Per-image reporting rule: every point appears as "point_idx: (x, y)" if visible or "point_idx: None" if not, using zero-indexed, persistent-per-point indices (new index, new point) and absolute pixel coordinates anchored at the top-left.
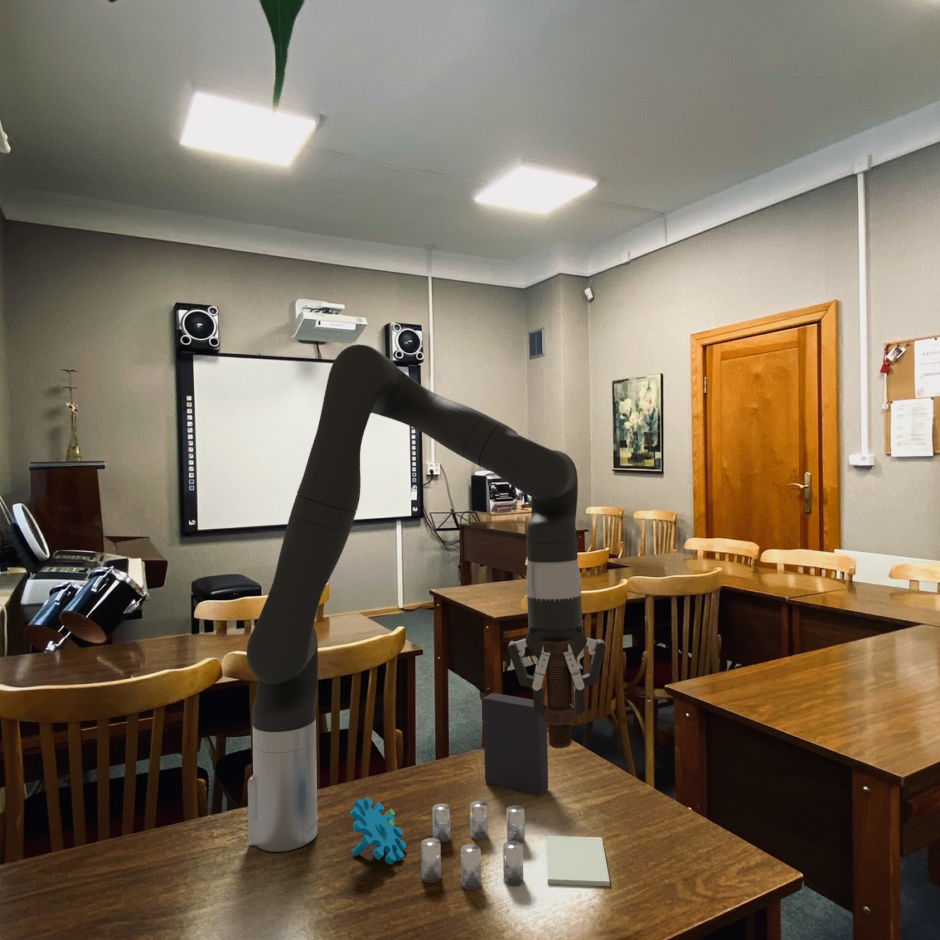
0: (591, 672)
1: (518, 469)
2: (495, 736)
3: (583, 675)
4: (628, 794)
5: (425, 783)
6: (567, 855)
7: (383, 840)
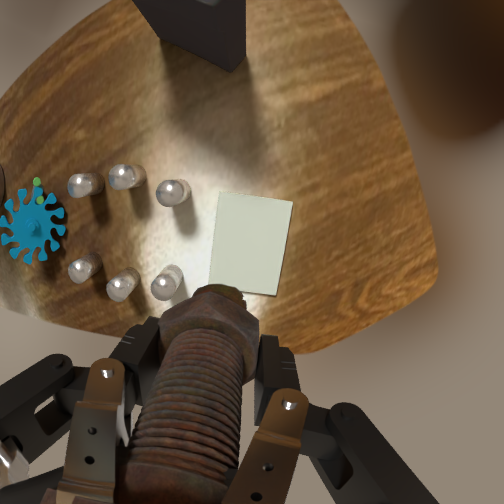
0: (325, 479)
1: None
2: (152, 11)
3: (308, 432)
4: (357, 85)
5: (87, 51)
6: (238, 240)
7: (40, 238)
